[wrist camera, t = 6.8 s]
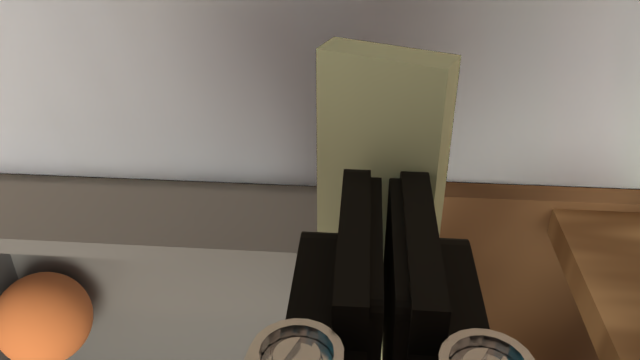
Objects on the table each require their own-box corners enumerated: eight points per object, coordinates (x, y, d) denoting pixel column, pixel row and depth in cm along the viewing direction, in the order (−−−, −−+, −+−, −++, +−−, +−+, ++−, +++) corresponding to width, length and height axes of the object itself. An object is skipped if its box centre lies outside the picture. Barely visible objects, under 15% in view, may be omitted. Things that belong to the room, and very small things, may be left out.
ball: (-43, 296, 22) (25, 329, 21) (38, 243, 25) (104, 269, 23) (-15, 366, 24) (49, 401, 22) (58, 309, 27) (119, 338, 25)
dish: (-23, 172, 23) (-92, 234, 20) (351, 187, 22) (346, 255, 19) (41, 362, 28) (-6, 437, 25) (346, 381, 27) (341, 462, 24)
